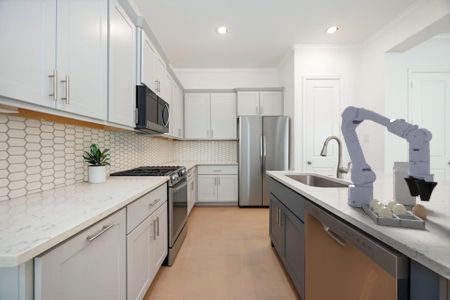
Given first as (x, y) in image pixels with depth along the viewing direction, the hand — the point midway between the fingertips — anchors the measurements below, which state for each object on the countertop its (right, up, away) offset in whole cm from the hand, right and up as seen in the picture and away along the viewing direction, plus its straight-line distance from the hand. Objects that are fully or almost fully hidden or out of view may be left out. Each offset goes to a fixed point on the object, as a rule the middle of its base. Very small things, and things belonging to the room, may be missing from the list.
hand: (419, 198), depth 78 cm
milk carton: (+11, -7, +20) cm, 23 cm away
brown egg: (0, -7, 0) cm, 7 cm away
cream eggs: (-11, -7, 0) cm, 13 cm away
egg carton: (-11, -7, 0) cm, 13 cm away
